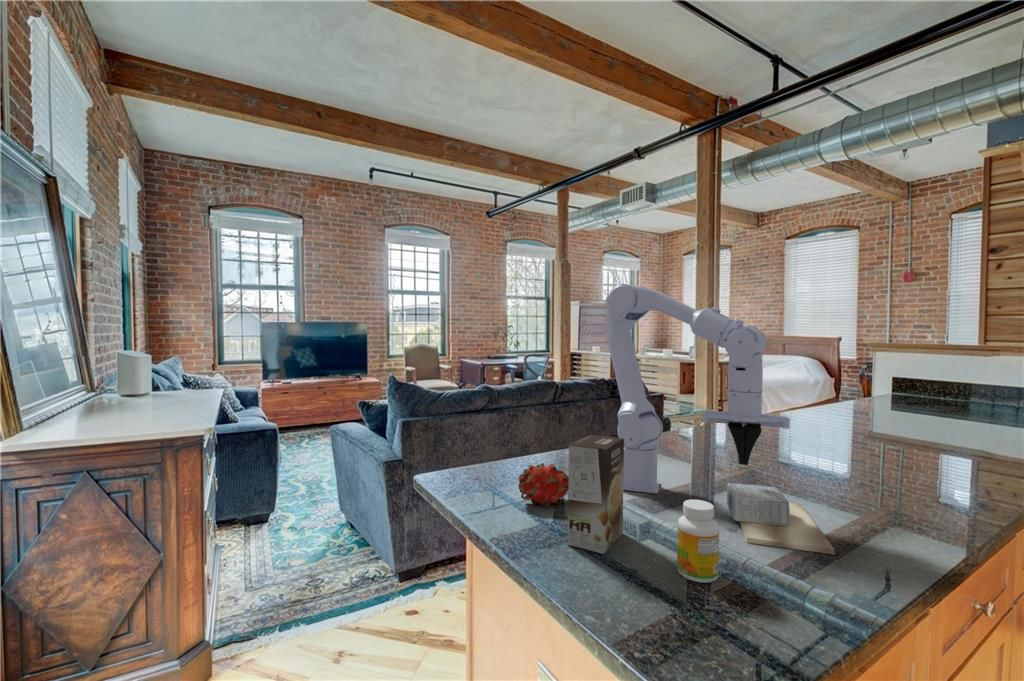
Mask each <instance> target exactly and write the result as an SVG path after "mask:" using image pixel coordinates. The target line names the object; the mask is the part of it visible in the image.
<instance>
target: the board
mask: <svg viewBox="0 0 1024 681" xmlns="http://www.w3.org/2000/svg"><path fill="white" fill-rule="evenodd" d="M788 502H789V501H788ZM789 508H790V520H789V526H781V525H771V524H761V523H751V522H741V521H738V523H739V524H740V527H741V530H742V532H743V536H744V539H745V541H746V543H750V544H755V545H756V544H757V545H764V546H770V547H776V548H785V549H791V550H799V551H806V552H807V551H808V552H812V551H813V552H814V553H819V552H820V554H828V555H835V552H836V550H835V548H834V546H833V545H832V544H831V542H830V541H829V540H828V538H826V536H825V535H824V533H823V532H822V530H821V529H820V528H819V526H817V524H816V522H815V521H814V520H813V519H812V517H811V516H810V515H809V513H808V512H807V511H806V509H805V508H804V506H802V504H801V503H797V502H789Z"/></svg>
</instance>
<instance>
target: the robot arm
mask: <svg viewBox="0 0 1024 681" xmlns="http://www.w3.org/2000/svg"><path fill="white" fill-rule="evenodd" d="M605 305H606V308H607V309H606V315H605V319H604V320H605V321H604V328H603V329H604V333H605V337H606V340H607V342H606V343H607V346H608V351H609V354H610V359H611V362H612V363H611V364H612V367H613V368H612V369H613V371H614V376H615V378H616V384H617V388H618V393H619V398H620V401H621V406H620V408H619V410H618V412H617V420H618V421H617V422H618V423H617V424H618V425H617V429H616V430H617V436H618V437H617V438H623V439H624V482H623V491H631V492H639V493H646V494H657V495H658V494H659V493H660V492H659V491H660V480H658V440H659V439H660V437H661V436H662V435H663V431H664V426H663V422H662V420H661V419H660V418H659V416H658V415H657V413H656V410H655V407H654V405H653V404H652V403H651V402H650V401H649V400H648V399H647V394H646V391H645V386H644V383H643V379H642V375H641V370H640V366H639V362H638V361H639V360H638V358H637V354H636V350H635V345H634V341H633V337H632V334H631V330H632V329H633V328H634V326H636V323H637V322H638V321H639V320H641V319H642V318H643V317H644V316H646V314H648V313H649V312H656V311H657V312H660V313H662V314H664V315H667V316H669V317H671V318H674V319H676V320H678V321H681V322H683V323H685V324H688V325H689V326H690V330H691V332H692V334H693V335H695V336H697V337H699V338H701V339H703V340H706V341H707V342H709V343H711V344H714V345H716V346H718V347H719V348H721V349H724V350H725V351H726V353H727V354H728V366H727V368H728V373H727V374H728V375H727V411H725V410H724V411H723V410H722V411H719V410H718V411H717V410H716V411H713V410H712V411H709V410H702V411H701V422H702V423H705V424H708V423H712V424H713V423H715V424H727V428H728V429H729V431H730V434H731V437H732V439H733V442H734V446H735V448H736V453H737V460H738V461H737V462H738V464H739V465H744V466H749V461H750V458H751V454H752V451H753V448H754V446H755V444H756V442H757V441H758V439H759V437H760V436H761V433H762V431H763V430H762V427H770V428H782V429H785V430H786V429H790V427H791V426H790V422H791V419H790V417H788V416H786V415H775V414H774V415H773V414H767V413H763V411H762V409H763V378H764V377H763V374H764V373H763V372H764V371H763V370H764V369H763V368H764V367H763V352H764V351H765V350H766V348H767V345H768V342H767V341H768V340H767V336H766V335H765V333H764V332H763V331H762V330H761V329H759V328H758V327H756V326H753V325H746V326H744V323H745V322H744V320H742V319H740V318H739V319H734V318H731V317H729V316H728V315H727V316H726V315H725V314H722V313H721V311H722V310H721V309H720V308H717V307H712V308H709V307H705V308H703V309H700V310H697V309H695V308H693V307H691V306H689V305H687V304H686V303H684V302H682V301H679V300H677V299H675V298H674V297H672V296H669V295H668V294H666V293H663V292H661V291H658V290H654V289H650V288H648V287H645V286H636V285H629V284H627V283H620V284H616V285H615V286H614V287H613V288H612V289H611V291H610V292H609V294H608V295H607V296H606V298H605Z"/></svg>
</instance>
